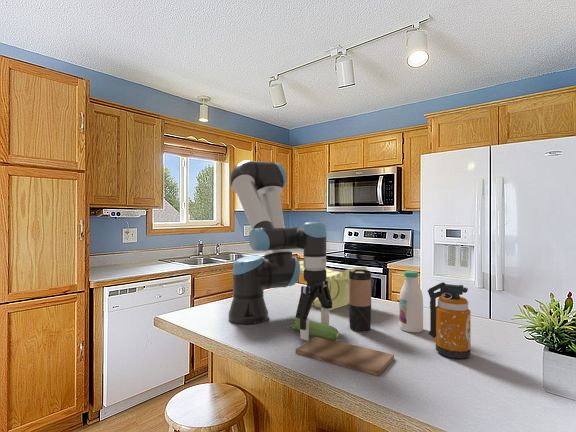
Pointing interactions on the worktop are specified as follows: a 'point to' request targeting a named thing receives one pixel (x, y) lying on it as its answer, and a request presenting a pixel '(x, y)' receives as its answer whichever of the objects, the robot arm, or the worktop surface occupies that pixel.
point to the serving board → (346, 355)
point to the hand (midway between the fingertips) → (315, 333)
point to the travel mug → (360, 300)
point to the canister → (450, 320)
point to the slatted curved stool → (336, 286)
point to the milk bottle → (411, 304)
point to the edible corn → (318, 329)
